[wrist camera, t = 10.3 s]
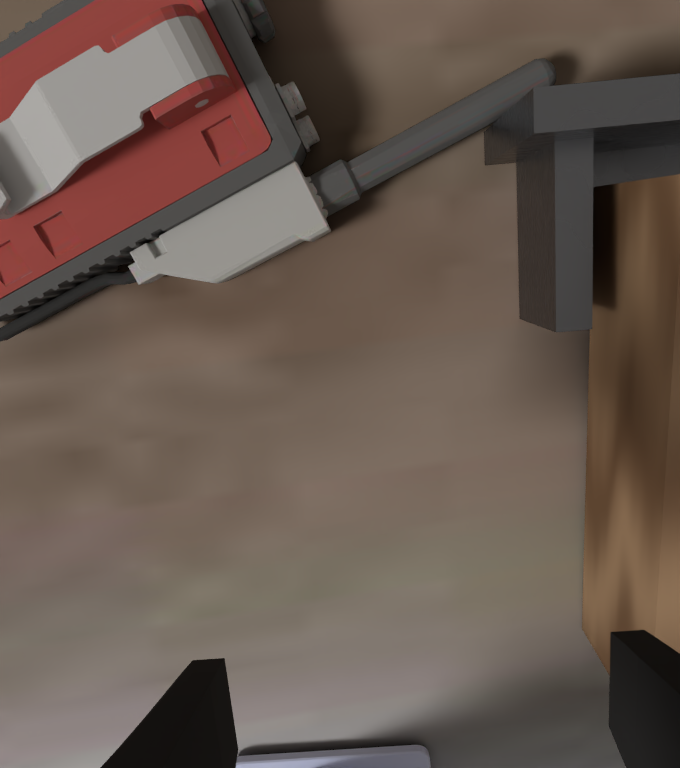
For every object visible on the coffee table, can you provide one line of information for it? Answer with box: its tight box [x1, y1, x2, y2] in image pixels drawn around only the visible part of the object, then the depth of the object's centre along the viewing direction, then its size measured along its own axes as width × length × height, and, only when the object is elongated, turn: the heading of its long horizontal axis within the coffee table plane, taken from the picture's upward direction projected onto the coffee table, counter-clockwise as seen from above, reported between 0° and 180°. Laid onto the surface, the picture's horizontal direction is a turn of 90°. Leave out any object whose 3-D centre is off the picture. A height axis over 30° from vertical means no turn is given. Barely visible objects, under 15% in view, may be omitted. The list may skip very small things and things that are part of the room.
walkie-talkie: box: [0, 0, 556, 341], centre depth 17 cm, size 9×4×20 cm
